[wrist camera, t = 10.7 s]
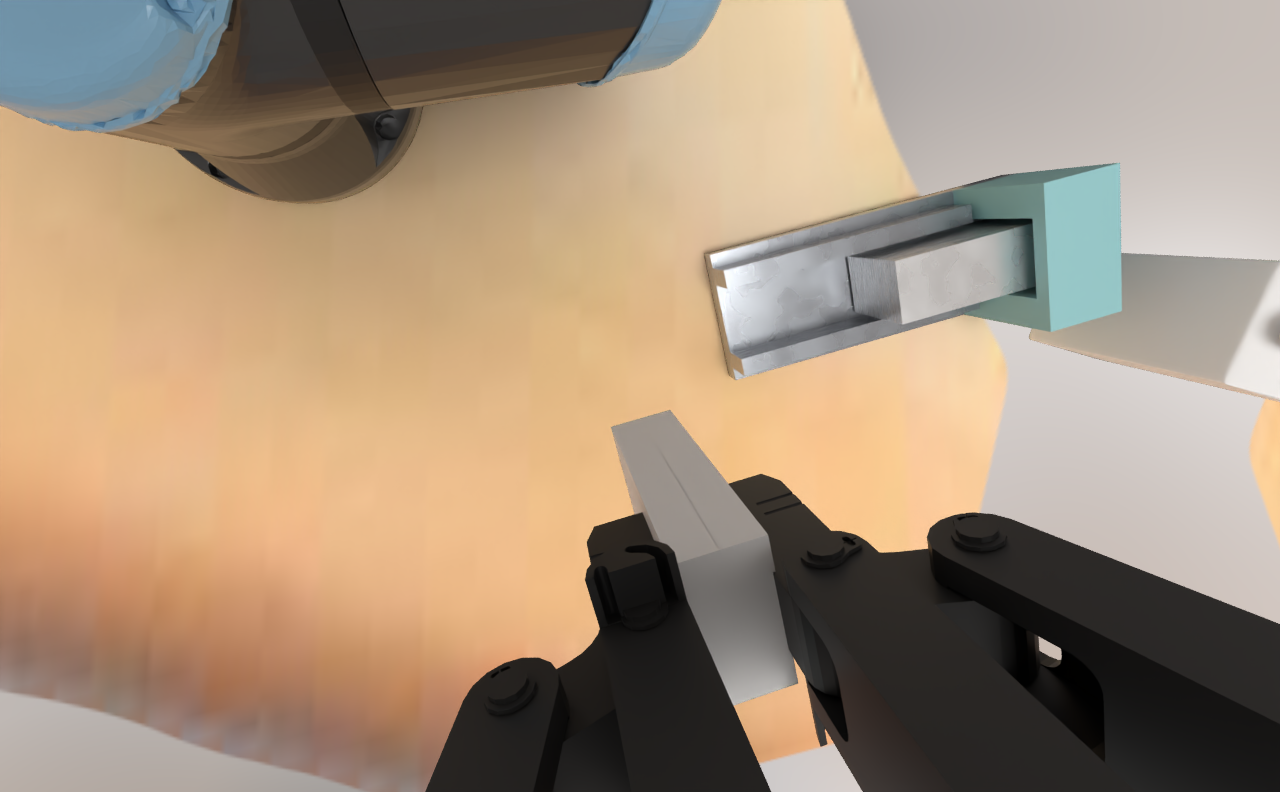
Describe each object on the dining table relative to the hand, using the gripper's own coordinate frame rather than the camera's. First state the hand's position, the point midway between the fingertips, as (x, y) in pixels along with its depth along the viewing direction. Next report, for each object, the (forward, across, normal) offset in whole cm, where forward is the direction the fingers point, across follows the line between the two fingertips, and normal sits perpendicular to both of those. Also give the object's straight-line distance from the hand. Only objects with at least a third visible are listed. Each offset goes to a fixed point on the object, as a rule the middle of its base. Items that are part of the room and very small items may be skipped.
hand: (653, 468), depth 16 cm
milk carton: (+30, +39, -10) cm, 50 cm away
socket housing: (+28, +31, -3) cm, 41 cm away
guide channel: (+29, +22, -3) cm, 37 cm away
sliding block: (+28, +26, -3) cm, 38 cm away
